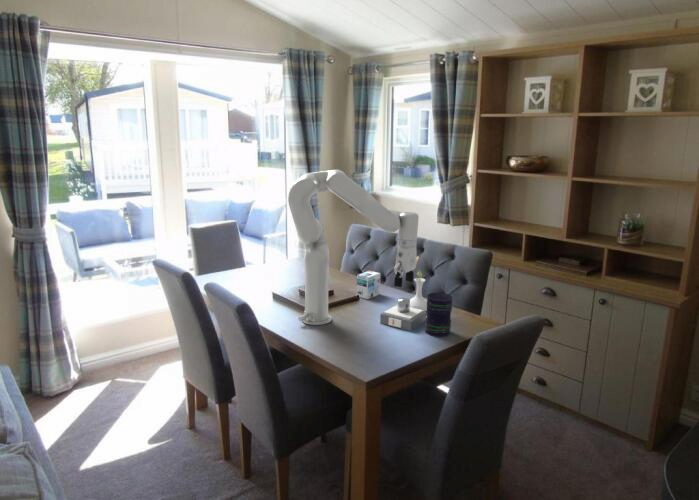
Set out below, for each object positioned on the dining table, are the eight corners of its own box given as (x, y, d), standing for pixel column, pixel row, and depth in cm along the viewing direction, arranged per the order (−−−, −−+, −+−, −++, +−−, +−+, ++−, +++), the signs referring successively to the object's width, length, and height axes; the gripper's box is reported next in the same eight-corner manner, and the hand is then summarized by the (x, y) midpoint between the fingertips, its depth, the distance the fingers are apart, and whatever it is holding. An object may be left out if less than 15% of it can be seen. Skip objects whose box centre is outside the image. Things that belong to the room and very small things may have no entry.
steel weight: (405, 314, 215) (406, 302, 213) (395, 311, 217) (395, 299, 216) (411, 310, 219) (412, 299, 218) (401, 308, 221) (401, 296, 220)
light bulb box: (367, 299, 246) (368, 277, 244) (355, 296, 250) (356, 274, 248) (380, 294, 254) (381, 272, 252) (368, 291, 258) (369, 270, 256)
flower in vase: (411, 303, 242) (414, 250, 237) (434, 308, 237) (438, 254, 231) (399, 311, 231) (402, 256, 226) (423, 316, 226) (426, 260, 220)
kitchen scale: (409, 331, 209) (410, 320, 208) (379, 323, 217) (379, 312, 215) (425, 320, 221) (426, 309, 220) (396, 313, 229) (397, 303, 227)
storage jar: (455, 332, 209) (457, 296, 206) (440, 339, 202) (442, 302, 199) (434, 325, 216) (437, 290, 213) (419, 331, 209) (421, 295, 206)
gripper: (405, 248, 202) (401, 290, 206) (424, 241, 216) (421, 281, 220) (388, 244, 206) (385, 286, 210) (408, 238, 220) (405, 277, 224)
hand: (403, 283), depth 215 cm, fingers open, 9 cm apart
